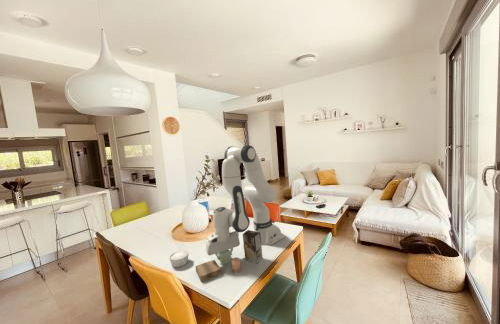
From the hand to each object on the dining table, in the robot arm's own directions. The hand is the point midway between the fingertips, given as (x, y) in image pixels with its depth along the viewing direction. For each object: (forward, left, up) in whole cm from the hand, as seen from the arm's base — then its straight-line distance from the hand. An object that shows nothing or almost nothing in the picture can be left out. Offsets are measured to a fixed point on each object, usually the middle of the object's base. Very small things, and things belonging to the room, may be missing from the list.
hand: (224, 256), depth 126 cm
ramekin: (+24, -14, -2) cm, 28 cm away
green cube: (0, 0, -2) cm, 2 cm away
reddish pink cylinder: (-2, +13, -2) cm, 13 cm away
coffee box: (-15, +9, -2) cm, 18 cm away
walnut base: (+12, +6, -2) cm, 14 cm away
